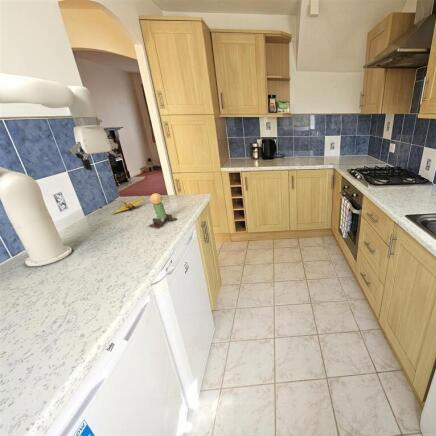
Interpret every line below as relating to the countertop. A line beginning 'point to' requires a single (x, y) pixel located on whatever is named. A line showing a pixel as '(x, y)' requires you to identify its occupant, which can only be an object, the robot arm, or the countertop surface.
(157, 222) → the stand
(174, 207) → the countertop surface
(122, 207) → the origami crane
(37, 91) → the robot arm
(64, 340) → the countertop surface
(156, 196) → the peg doll
